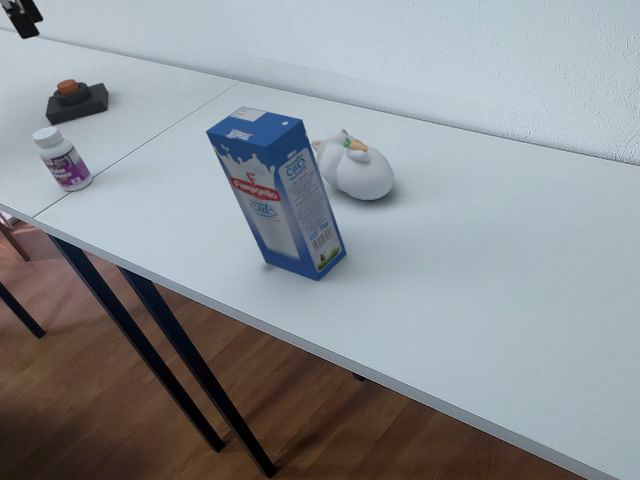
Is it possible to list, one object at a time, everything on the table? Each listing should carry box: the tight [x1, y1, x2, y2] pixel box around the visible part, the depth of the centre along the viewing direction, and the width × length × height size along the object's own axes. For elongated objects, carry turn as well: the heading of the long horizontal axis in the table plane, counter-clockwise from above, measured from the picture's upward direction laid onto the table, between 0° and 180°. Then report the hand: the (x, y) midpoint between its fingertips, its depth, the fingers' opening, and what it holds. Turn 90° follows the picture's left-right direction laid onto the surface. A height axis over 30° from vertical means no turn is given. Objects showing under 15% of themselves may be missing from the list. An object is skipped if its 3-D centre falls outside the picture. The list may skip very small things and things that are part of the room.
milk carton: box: [205, 105, 348, 282], centre depth 81 cm, size 10×6×20 cm, turn 58°
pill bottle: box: [32, 126, 93, 192], centre depth 107 cm, size 5×5×10 cm
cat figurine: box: [310, 128, 395, 201], centre depth 96 cm, size 10×8×15 cm
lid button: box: [56, 78, 80, 95], centre depth 128 cm, size 4×4×2 cm
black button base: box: [45, 81, 109, 126], centre depth 130 cm, size 11×9×4 cm
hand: (33, 28), depth 120 cm, fingers open, 7 cm apart
